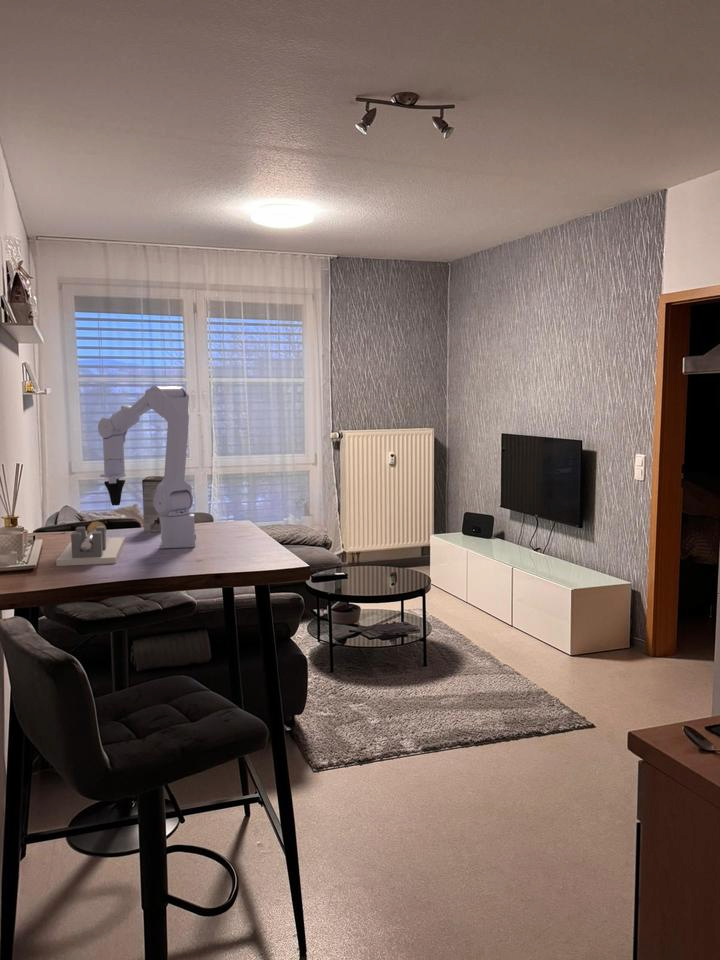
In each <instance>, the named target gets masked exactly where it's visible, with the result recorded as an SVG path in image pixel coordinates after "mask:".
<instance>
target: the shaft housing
mask: <svg viewBox="0 0 720 960" xmlns="http://www.w3.org/2000/svg"><path fill="white" fill-rule="evenodd" d="M105 527H106V525H105V526H97V527H96V531H94V532H93V533H92V542H93V545H92V547H91V548H90V550H89V551H87V552H84V551H82V550H81V548H80V546H81V544H82V543H83V541H84V540H85V538H86V537H87V535H86V534H87V528H86V526H77V527H76V528H75V531H73V532H72V533H71V534H70V542H69V543H68V544H67V546H66V547H65V548H64V549H63V551H62V552H61V554H60V555H59V556H58V557H57V559H56V560H55V563H56V567H65V566H67V567H68V566H69V567H70V566H85V565H105V564H107V565H108V564H110V565H111V564H116V563H117V562H118V560H119V557H120V554H121V552H122V550H123V548H124V546H125V544H126V540H125V539H126V537H124V536H123V537H107V536H106V535H107V529H106V530H105Z"/></svg>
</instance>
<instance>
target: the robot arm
mask: <svg viewBox="0 0 720 960" xmlns="http://www.w3.org/2000/svg"><path fill="white" fill-rule="evenodd" d="M144 392H145V393H144V394H143V395H142V397H140V399H138V400H137V401H136V402H135V403H133V404H132V405H122V406H120V409H119V410H118V411H117V412H113V413H112V414H111V416H110V417H102V418H101V419H100V420H99V421H98V425H97V431H98V434H99V435H100V437H101V438H102V449H103V470H104V472H103V473H101V474H99V476H100V478H106V479H108V480H107V481H104V486H105V488H106V489H107V492H108V495H109V499H110V503H111V506H120V504H121V501H122V494H123V489H124V485H125V483H126V480H125V479H120V478H125V477H126V475H127V474H126V473H125V472H126V471H125V467H126V466H125V447H124V446H125V445H124V444H125V443H126V436H127V434H128V430H130V429H131V428H132V427H134V426H135V425H136V424H138V423H139V421H140V417H141V416H142V415H144V414H145V413H148V411H150V410H153V411H154V412H155V413H156V414H158V415H159V416H160V417H161V418H163V419H165V421H166V422H167V427H166V428H167V429H166V430H167V431H166V444H165V457H164V458H165V459H164V476H163V477H164V479H163V481H162V482H161V483H160V484H159V485H158V486H157V490H156V494H155V496H154V500H153V504H154V508H155V510H156V511H157V512H158V515H160V517H161V532H160V537H161V538H160V539H161V540H160V542H159V543H160V544H159V549H178V548H182V549H183V548H195V547H196V541H197V533H196V530H195V529H196V527H195V525H196V524H195V513H190V510H191V509H192V507H193V504H194V497H193V493H192V485H191V484H189V482H188V481H186V480H185V475H186V465H187V463H186V462H187V449H188V439H189V438H188V437H189V436H188V433H189V423H190V422H189V421H190V415H189V402H190V401H189V400H190V395H189V393H188V392H187V391H186V390H185V388H184V387H183V386H180V385H175V386H159V385H152V386H150V387H149V389H145V391H144Z"/></svg>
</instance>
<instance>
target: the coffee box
mask: <svg viewBox="0 0 720 960" xmlns="http://www.w3.org/2000/svg"><path fill="white" fill-rule="evenodd" d="M163 479H164V476H162V475H161V476H160V475H159V476H158V475H155V476H154V475H151V476H150V475H149V476H147V477H145V478H143V479H142V480H141V485H142V489H141V490H142V511H143V512H142V513H143V515H142V516H143V532H149V533H150V532H156V533H157V532H160V533H161V517H160V515H158V512H157V511H156V510H155V508H154V504H153V500H154V496H155V494H156V490H157V486H158V485H159V484H160V483H161V482H162V481H163Z"/></svg>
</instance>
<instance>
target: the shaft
mask: <svg viewBox="0 0 720 960" xmlns="http://www.w3.org/2000/svg"><path fill="white" fill-rule="evenodd" d="M97 526H105V530H106V531H107V527H106V525H105V524H104V523H103V522H101V521H98V520H97V521H93V522H91V523H90V524H89V525H88V526H87V528H86V534H87V535H86V538H85V540H84V541H83V543H82V544H81V546H80V548H81V550H82V551H84V552H87V551H89V550H90V548H91V547H92V545H93V542H92V533H93V532H94V531H96V527H97Z"/></svg>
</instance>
